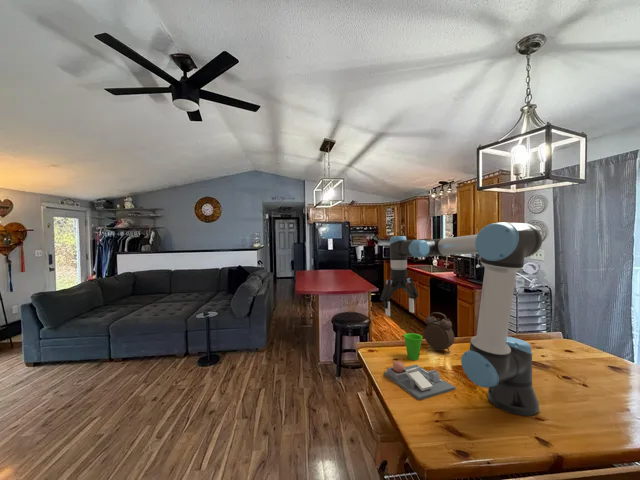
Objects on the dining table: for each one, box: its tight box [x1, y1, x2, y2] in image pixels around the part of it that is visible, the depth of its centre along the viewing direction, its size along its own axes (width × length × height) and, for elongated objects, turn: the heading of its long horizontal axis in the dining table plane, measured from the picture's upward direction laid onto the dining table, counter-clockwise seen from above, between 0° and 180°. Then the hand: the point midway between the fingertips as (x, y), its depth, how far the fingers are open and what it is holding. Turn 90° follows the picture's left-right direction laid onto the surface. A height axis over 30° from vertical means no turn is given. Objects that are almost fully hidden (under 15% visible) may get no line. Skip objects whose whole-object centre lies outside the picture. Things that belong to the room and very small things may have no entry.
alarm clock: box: [423, 311, 455, 354], centre depth 150 cm, size 14×7×20 cm, turn 36°
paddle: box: [405, 368, 433, 391], centre depth 114 cm, size 10×5×1 cm, turn 22°
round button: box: [392, 360, 405, 374], centre depth 122 cm, size 4×4×3 cm
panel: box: [383, 364, 456, 401], centre depth 118 cm, size 22×18×4 cm
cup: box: [403, 332, 423, 361], centre depth 141 cm, size 9×9×11 cm
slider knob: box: [427, 369, 440, 383], centre depth 117 cm, size 3×3×4 cm
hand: (400, 313), depth 134 cm, fingers open, 13 cm apart
